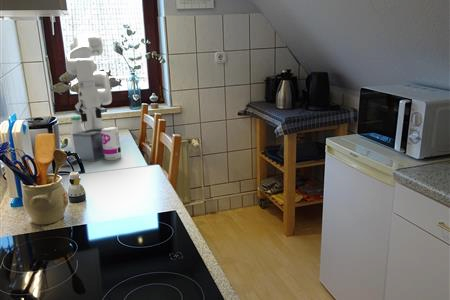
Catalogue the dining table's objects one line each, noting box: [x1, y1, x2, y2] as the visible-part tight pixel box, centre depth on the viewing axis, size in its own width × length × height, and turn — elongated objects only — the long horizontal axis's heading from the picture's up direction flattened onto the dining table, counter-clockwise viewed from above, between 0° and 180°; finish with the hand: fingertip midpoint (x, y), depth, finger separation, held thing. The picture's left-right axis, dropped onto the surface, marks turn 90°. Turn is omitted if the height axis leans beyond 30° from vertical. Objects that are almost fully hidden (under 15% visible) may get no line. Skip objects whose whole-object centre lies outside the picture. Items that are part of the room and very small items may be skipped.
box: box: [73, 127, 105, 162], centre depth 201 cm, size 12×16×13 cm
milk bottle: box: [70, 115, 86, 153], centre depth 206 cm, size 8×8×20 cm
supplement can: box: [101, 126, 123, 161], centre depth 195 cm, size 8×8×15 cm
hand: (91, 119), depth 198 cm, fingers open, 9 cm apart
